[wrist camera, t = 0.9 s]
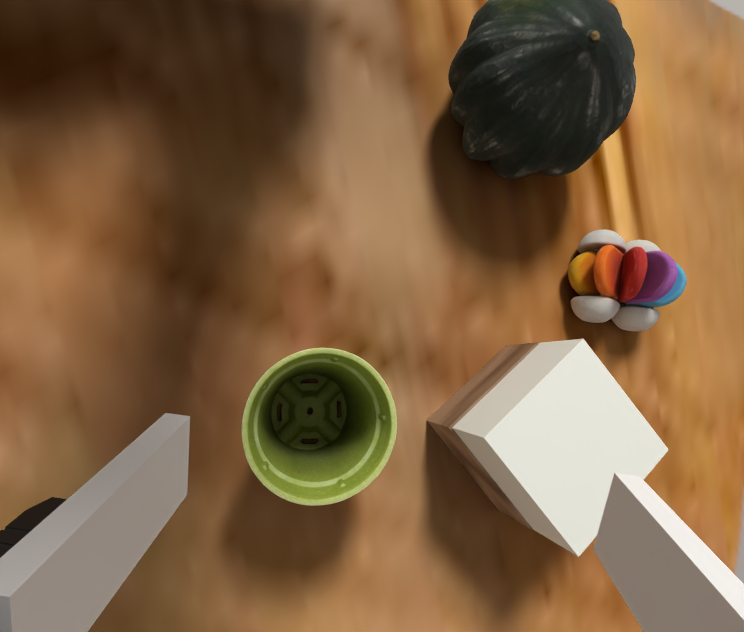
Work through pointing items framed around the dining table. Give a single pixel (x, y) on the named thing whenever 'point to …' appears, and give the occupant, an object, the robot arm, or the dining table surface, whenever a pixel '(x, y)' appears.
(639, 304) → the rainbow petal cluster
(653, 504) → the robot arm
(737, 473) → the dining table surface
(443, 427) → the walnut base block
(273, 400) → the plant pot
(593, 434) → the pale top block
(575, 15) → the squash
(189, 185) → the dining table surface
